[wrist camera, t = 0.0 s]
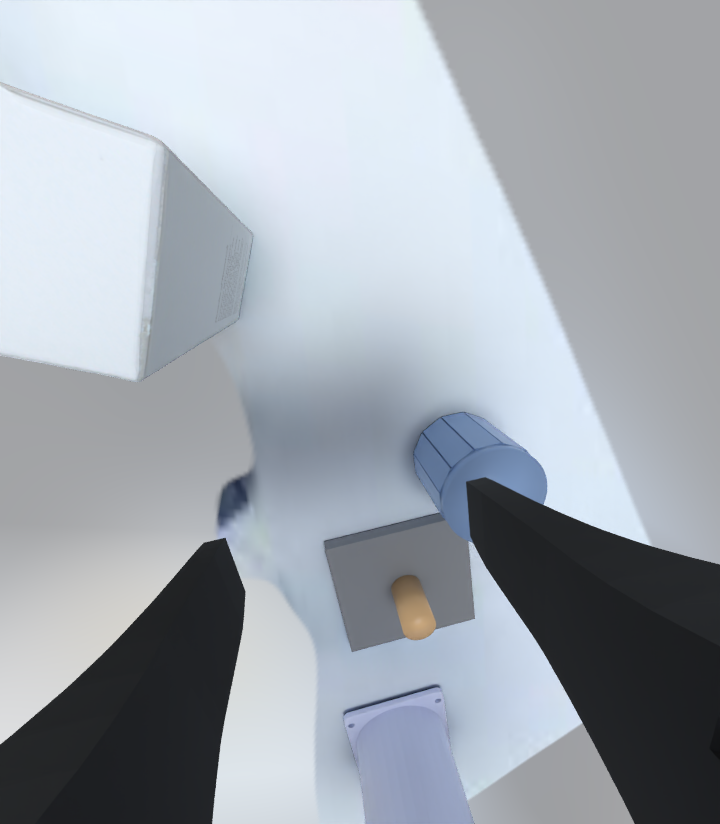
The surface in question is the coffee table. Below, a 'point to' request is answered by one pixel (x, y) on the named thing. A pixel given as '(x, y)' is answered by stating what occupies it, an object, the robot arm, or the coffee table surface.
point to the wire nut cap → (472, 465)
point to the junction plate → (389, 561)
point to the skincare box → (107, 244)
